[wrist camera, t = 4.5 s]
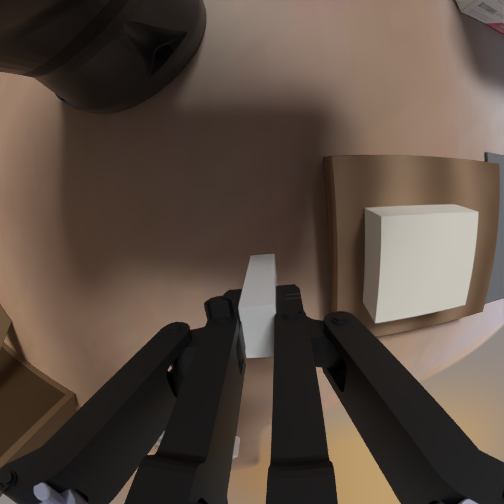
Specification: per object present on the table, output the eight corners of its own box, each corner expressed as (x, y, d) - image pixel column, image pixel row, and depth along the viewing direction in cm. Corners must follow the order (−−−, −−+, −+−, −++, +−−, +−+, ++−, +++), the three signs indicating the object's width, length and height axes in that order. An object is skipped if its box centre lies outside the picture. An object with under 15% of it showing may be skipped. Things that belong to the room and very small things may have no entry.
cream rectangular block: (362, 302, 19) (374, 323, 16) (364, 207, 17) (381, 216, 14) (446, 288, 18) (465, 304, 15) (455, 204, 16) (478, 211, 13)
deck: (329, 322, 23) (335, 342, 20) (323, 157, 19) (332, 155, 16) (467, 298, 21) (482, 311, 18) (479, 161, 17) (499, 163, 14)
